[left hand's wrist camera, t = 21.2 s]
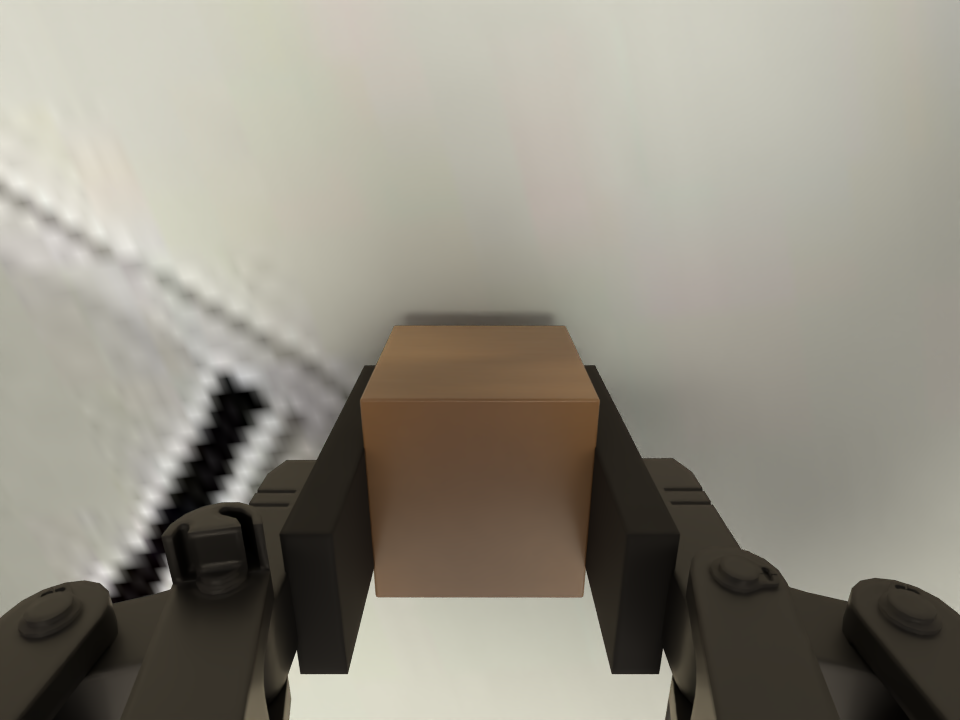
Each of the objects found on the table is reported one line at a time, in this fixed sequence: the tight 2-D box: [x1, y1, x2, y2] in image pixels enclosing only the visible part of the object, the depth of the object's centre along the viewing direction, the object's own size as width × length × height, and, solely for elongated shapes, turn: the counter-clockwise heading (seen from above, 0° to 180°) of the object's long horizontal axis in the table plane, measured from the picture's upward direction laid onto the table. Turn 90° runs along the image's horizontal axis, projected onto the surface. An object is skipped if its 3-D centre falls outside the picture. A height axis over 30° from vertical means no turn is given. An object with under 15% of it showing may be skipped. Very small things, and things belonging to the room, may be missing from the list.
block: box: [360, 326, 600, 597], centre depth 13 cm, size 4×4×4 cm
